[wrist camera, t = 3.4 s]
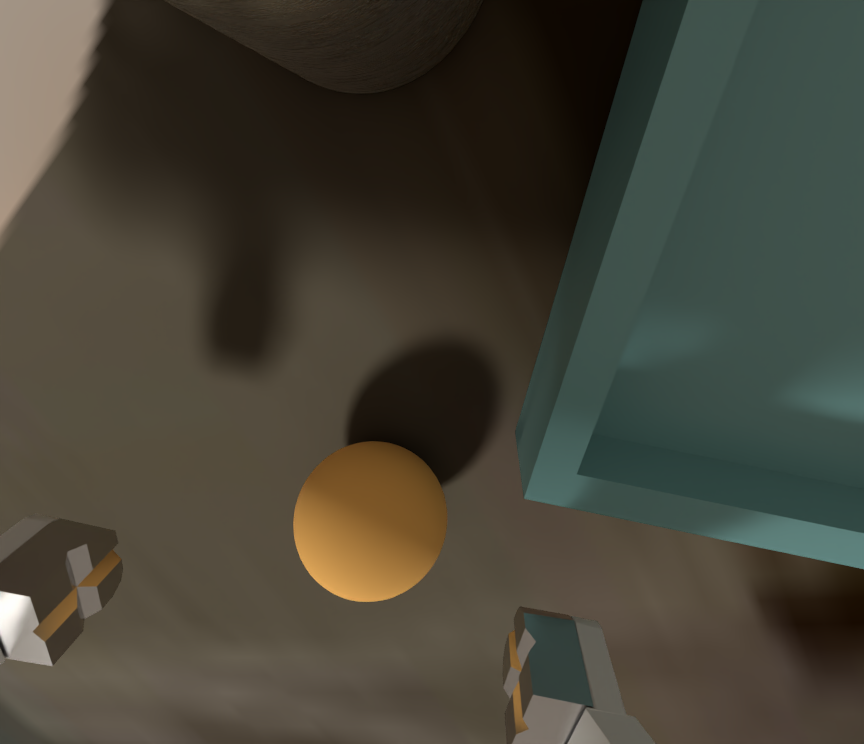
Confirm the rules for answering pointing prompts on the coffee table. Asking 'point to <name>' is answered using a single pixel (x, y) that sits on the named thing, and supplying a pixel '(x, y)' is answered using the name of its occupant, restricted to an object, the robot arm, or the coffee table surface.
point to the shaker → (343, 36)
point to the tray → (717, 287)
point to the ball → (370, 521)
